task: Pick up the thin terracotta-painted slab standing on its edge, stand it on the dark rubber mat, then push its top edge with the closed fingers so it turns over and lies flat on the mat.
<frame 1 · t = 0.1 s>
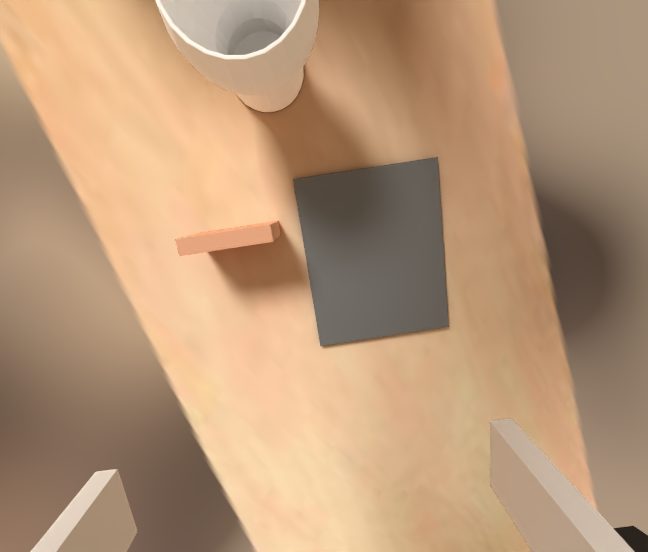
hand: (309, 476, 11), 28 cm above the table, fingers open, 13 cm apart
cup: (266, 72, 33), on the table
mat: (374, 256, 38), on the table
slab: (241, 233, 37), on the table
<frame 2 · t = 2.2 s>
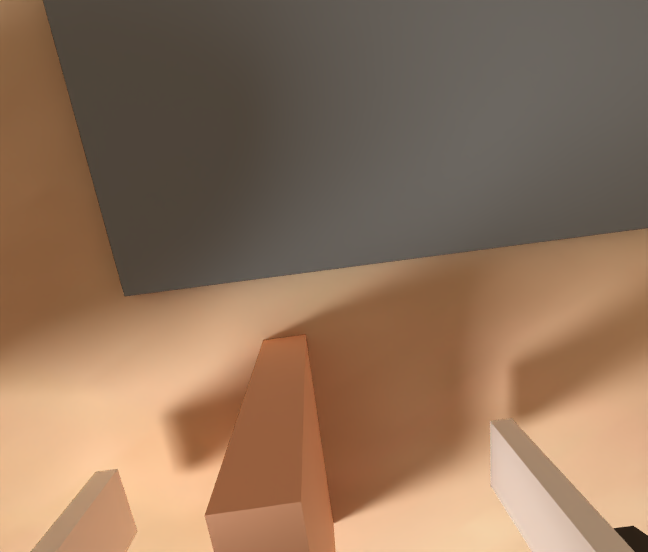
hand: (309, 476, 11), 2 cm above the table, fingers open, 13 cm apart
slab: (301, 438, 13), on the table
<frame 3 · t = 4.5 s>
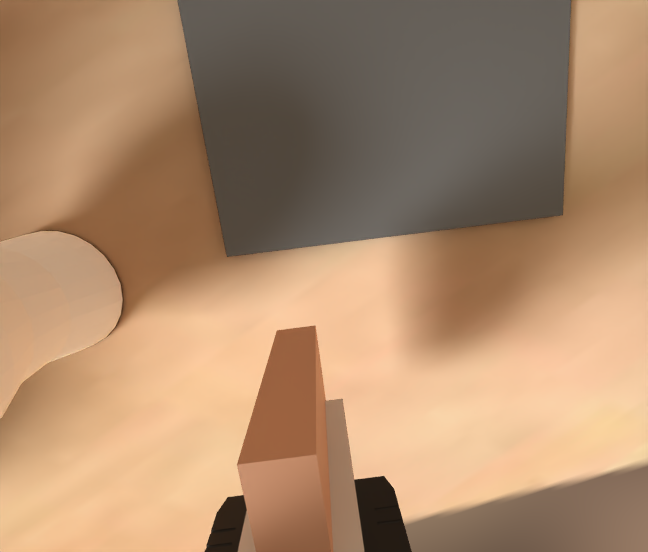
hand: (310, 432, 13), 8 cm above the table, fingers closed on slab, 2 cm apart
cup: (64, 291, 21), on the table
mat: (379, 92, 18), on the table
slab: (310, 422, 14), point 7 cm above the table, touching gripper
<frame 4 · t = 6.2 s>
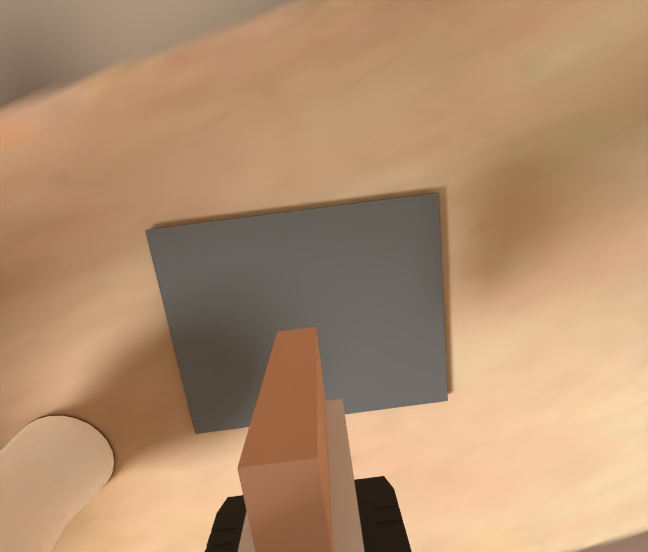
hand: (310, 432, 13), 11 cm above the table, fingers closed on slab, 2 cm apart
cup: (67, 454, 26), on the table
mat: (308, 319, 24), on the table
slab: (310, 423, 14), point 10 cm above the table, touching gripper
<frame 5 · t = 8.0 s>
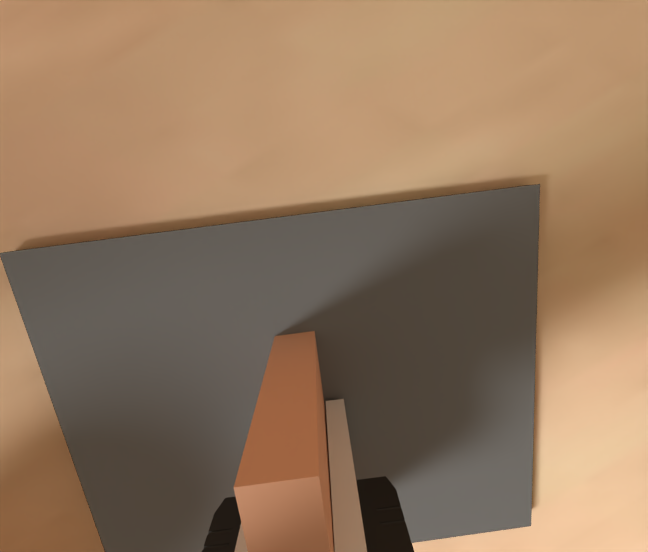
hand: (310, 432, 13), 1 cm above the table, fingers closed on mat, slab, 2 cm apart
mat: (302, 400, 14), on the table
slab: (309, 430, 14), point 1 cm above the table, touching gripper, mat
when the fingers open (1 cm above the table, at t = 8.0 s): slab stays where it is, resting on mat.
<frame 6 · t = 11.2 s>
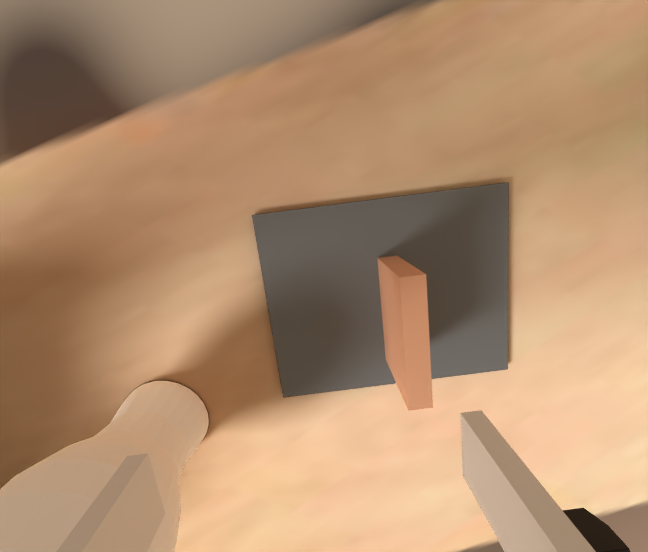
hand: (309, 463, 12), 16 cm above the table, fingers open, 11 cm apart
cup: (167, 416, 29), on the table
mat: (386, 295, 27), on the table
slab: (391, 309, 27), point 1 cm above the table, touching mat
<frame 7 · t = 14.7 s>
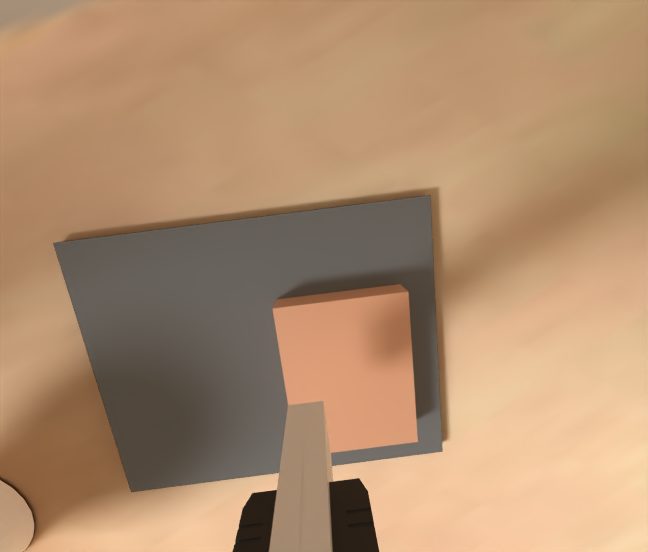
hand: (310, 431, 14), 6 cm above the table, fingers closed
mat: (268, 352, 19), on the table
slab: (286, 379, 18), point 1 cm above the table, tilted 90°, touching mat
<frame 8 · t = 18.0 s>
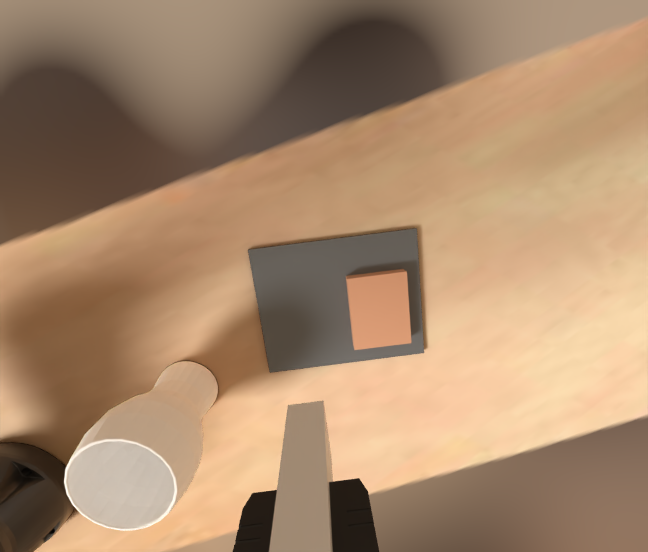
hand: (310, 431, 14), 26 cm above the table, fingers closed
cup: (189, 386, 42), on the table
mat: (339, 302, 40), on the table
slab: (350, 313, 39), point 1 cm above the table, tilted 90°, touching mat
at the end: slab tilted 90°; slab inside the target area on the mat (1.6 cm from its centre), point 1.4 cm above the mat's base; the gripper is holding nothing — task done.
